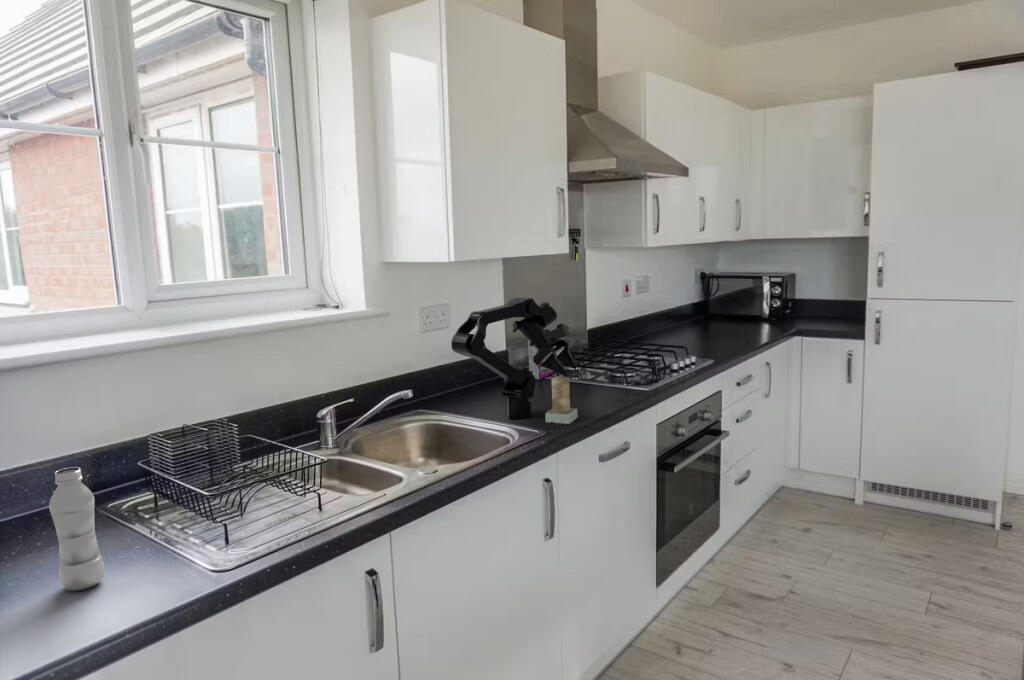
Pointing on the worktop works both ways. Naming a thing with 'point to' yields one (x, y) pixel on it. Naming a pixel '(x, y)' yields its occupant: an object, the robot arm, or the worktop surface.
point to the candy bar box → (537, 370)
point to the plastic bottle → (75, 531)
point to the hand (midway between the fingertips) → (571, 371)
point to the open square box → (561, 417)
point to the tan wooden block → (561, 395)
